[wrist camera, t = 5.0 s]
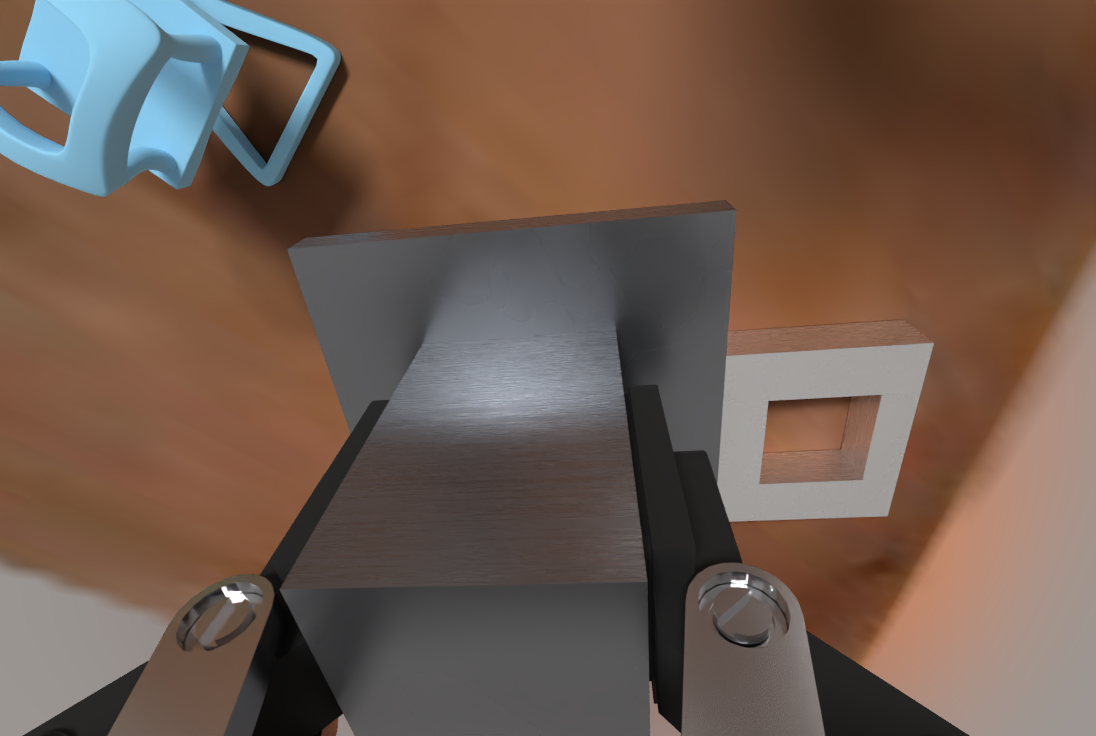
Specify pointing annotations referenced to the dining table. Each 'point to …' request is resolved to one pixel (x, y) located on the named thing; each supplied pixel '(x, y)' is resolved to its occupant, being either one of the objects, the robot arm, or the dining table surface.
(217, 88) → the chair
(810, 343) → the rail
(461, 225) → the flanged block
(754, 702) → the robot arm
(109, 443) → the dining table surface
